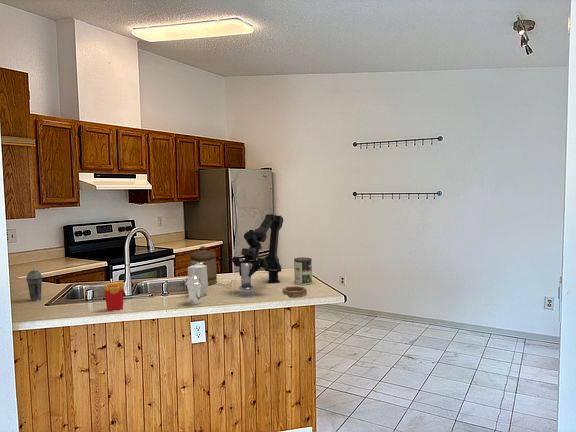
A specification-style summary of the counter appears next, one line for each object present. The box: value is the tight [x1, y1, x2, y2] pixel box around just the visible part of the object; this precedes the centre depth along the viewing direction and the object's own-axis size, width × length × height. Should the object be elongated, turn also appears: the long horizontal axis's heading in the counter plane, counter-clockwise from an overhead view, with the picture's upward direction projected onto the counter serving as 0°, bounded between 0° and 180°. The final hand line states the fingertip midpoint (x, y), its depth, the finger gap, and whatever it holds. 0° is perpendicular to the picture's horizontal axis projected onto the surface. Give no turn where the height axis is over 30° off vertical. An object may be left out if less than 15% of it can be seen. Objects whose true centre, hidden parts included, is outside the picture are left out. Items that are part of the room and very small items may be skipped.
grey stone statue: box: [185, 262, 204, 305], centre depth 215 cm, size 8×9×20 cm
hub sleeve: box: [239, 262, 254, 291], centre depth 224 cm, size 7×7×13 cm
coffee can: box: [293, 256, 313, 286], centre depth 253 cm, size 10×10×14 cm
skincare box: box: [187, 265, 209, 298], centre depth 230 cm, size 8×7×16 cm
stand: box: [234, 291, 259, 299], centre depth 225 cm, size 9×9×1 cm
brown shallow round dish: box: [282, 285, 308, 298], centre depth 229 cm, size 13×13×3 cm
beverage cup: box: [25, 261, 43, 302], centre depth 224 cm, size 7×7×20 cm
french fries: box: [103, 280, 126, 312], centre depth 206 cm, size 9×4×13 cm, turn 109°
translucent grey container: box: [189, 245, 218, 287], centre depth 256 cm, size 15×15×22 cm
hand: (244, 275), depth 223 cm, fingers closed on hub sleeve, 5 cm apart
